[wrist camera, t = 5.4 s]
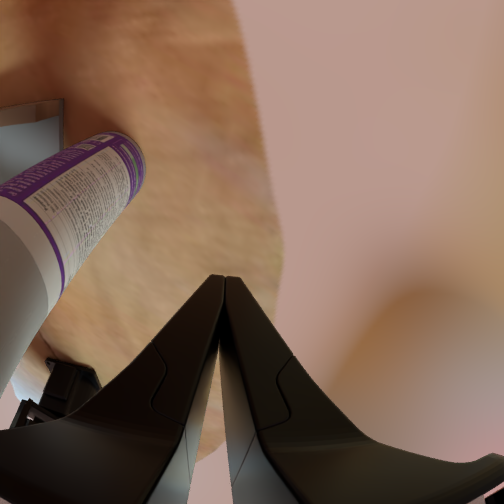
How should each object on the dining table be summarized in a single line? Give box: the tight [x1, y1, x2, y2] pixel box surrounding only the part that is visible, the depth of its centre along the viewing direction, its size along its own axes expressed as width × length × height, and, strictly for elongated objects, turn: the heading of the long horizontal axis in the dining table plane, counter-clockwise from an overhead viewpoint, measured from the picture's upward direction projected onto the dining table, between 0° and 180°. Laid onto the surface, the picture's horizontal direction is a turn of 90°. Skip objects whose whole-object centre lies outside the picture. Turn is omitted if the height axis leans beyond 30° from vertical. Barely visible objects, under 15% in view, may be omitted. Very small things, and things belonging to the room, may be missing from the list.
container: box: [0, 131, 146, 398], centre depth 10 cm, size 5×5×15 cm
